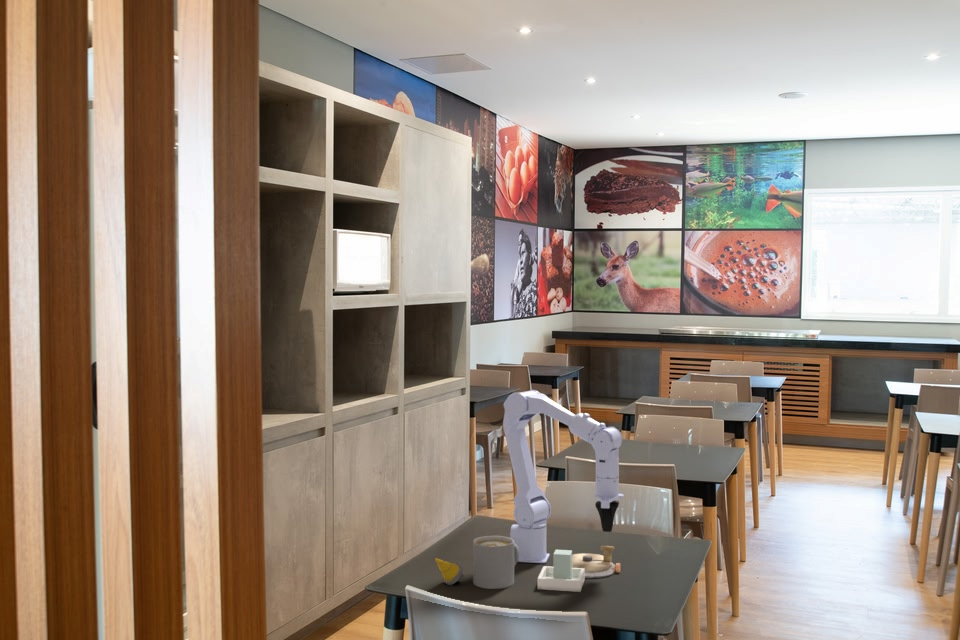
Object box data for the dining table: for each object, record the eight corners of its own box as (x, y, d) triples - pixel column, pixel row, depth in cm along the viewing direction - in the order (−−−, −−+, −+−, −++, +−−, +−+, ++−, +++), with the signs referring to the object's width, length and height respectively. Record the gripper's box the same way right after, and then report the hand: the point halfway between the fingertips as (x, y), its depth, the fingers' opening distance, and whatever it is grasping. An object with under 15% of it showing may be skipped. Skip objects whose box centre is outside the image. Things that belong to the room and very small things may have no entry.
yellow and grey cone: (467, 588, 208) (441, 564, 204) (450, 594, 210) (424, 570, 206) (471, 569, 212) (445, 545, 208) (454, 575, 215) (428, 552, 211)
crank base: (556, 576, 215) (556, 568, 215) (563, 560, 229) (563, 553, 229) (618, 579, 212) (618, 572, 212) (621, 563, 226) (621, 556, 226)
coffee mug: (488, 591, 204) (488, 548, 204) (465, 580, 212) (464, 539, 212) (533, 581, 211) (533, 540, 211) (509, 571, 219) (509, 531, 219)
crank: (560, 570, 216) (560, 550, 216) (566, 556, 228) (566, 537, 228) (613, 573, 213) (613, 553, 213) (616, 559, 225) (616, 540, 225)
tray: (537, 589, 205) (537, 578, 205) (543, 576, 215) (543, 566, 215) (580, 591, 203) (580, 581, 203) (584, 578, 213) (584, 568, 213)
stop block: (553, 583, 207) (553, 554, 207) (555, 578, 211) (555, 549, 211) (570, 584, 207) (570, 554, 207) (572, 579, 211) (572, 550, 210)
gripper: (621, 482, 209) (622, 539, 210) (625, 471, 224) (625, 524, 224) (592, 481, 211) (592, 537, 211) (597, 470, 225) (597, 523, 225)
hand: (607, 531), depth 218 cm, fingers closed
